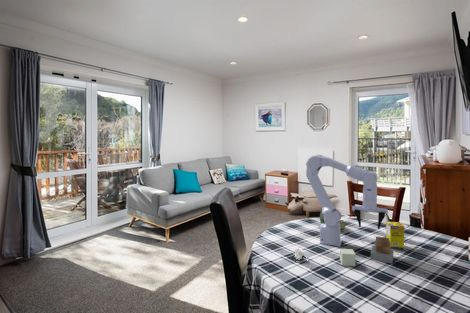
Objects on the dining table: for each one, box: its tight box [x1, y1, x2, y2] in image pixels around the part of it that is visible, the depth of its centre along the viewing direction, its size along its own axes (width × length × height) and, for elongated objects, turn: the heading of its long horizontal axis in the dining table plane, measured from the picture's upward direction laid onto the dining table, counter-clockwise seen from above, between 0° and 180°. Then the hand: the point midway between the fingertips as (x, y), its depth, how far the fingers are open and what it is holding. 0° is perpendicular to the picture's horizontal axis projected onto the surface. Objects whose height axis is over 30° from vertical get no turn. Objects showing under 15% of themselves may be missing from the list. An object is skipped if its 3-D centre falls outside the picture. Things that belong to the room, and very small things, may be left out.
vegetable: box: [319, 210, 347, 230], centre depth 154 cm, size 12×13×15 cm
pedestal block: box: [370, 245, 395, 265], centre depth 116 cm, size 8×8×4 cm
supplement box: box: [385, 221, 405, 250], centre depth 127 cm, size 6×6×11 cm
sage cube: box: [339, 248, 356, 267], centre depth 111 cm, size 5×5×5 cm
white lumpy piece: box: [294, 248, 309, 262], centre depth 116 cm, size 9×8×4 cm
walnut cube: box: [374, 236, 391, 254], centre depth 115 cm, size 5×5×5 cm
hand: (369, 227), depth 124 cm, fingers open, 7 cm apart
